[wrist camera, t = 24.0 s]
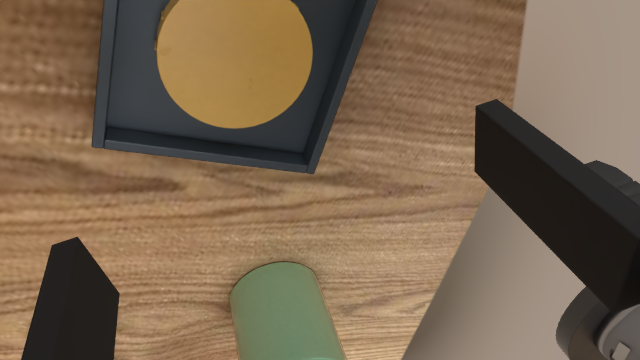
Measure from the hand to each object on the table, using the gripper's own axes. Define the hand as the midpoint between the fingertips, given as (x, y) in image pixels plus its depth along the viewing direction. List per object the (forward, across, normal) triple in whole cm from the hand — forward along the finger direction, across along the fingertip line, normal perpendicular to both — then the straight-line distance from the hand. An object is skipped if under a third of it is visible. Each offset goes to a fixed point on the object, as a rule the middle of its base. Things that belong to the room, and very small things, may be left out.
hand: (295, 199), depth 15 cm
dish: (+14, 0, 0) cm, 14 cm away
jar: (+14, -3, -21) cm, 26 cm away
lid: (+12, 0, 0) cm, 13 cm away
